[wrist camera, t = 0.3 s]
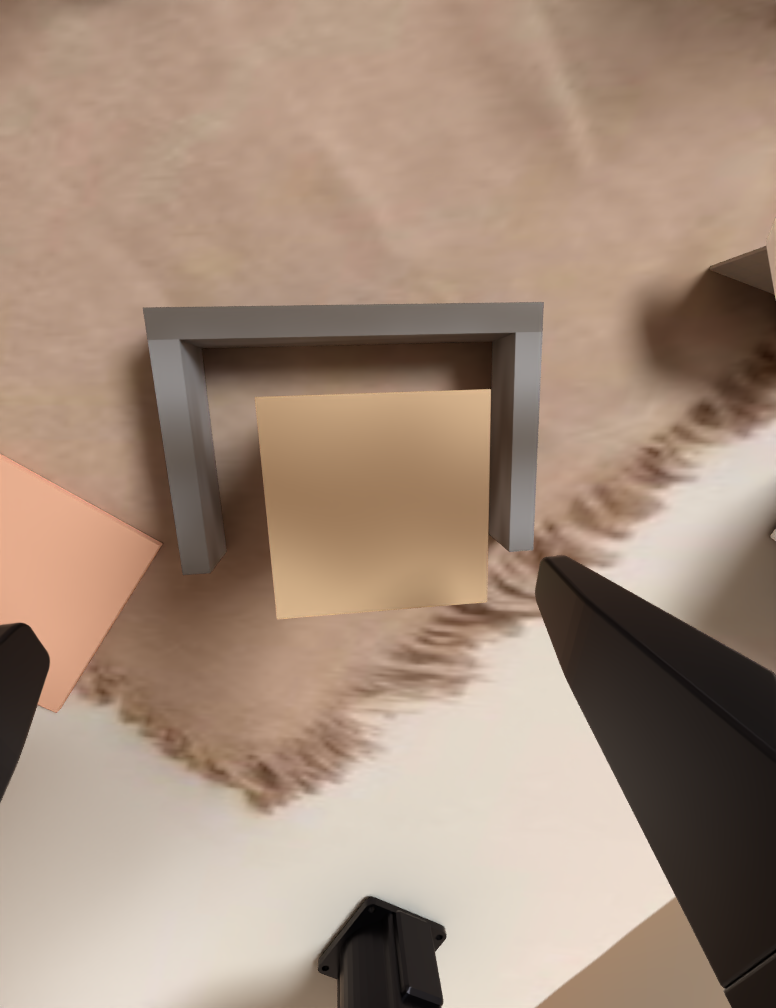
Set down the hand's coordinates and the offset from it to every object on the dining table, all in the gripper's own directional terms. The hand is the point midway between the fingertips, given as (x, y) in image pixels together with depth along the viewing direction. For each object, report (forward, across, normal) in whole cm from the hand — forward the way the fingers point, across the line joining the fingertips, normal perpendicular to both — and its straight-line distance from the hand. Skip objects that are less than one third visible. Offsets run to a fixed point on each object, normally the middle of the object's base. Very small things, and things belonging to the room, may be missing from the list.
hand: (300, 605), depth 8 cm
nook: (+15, -2, +4) cm, 15 cm away
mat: (+13, +16, +8) cm, 23 cm away
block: (+15, -2, +4) cm, 15 cm away
